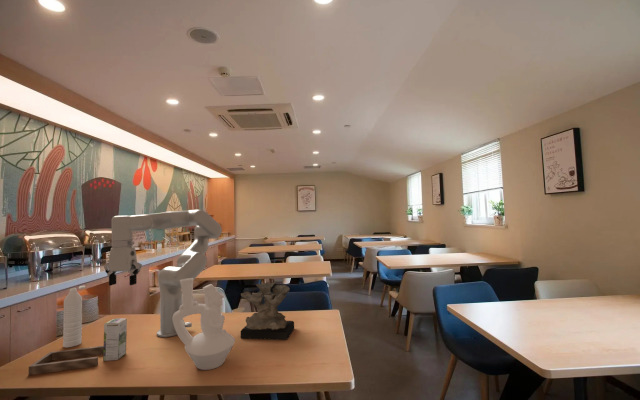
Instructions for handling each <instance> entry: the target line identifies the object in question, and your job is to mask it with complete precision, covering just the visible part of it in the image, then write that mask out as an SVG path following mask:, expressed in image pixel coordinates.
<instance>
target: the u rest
mask: <svg viewBox="0 0 640 400" xmlns="http://www.w3.org/2000/svg"><path fill="white" fill-rule="evenodd" d="M103 350H104V345H99V346H98V345H97V346H91V347H89V346H88V347H81V348H73V349H66V350H58V351H57V350H55V351H50V352H48V353H46V354H45V355H43V357H40V358H39V359H38V360H36V361H35V362H33V363H32V364H30V365H29V366H28V376H34V375H40V374H41V375H42V374H48V373H56V372H63V370H64V371H70V370H78V369H84V368H85V369H86V368H93V367H97V366H98V365H99V355H103ZM92 356H93V357H92ZM84 357H85V358H84ZM68 359H69V360H68ZM53 360H54V361H53ZM60 360H61V361H60Z"/></svg>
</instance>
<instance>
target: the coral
mask: <svg viewBox="0 0 640 400" xmlns="http://www.w3.org/2000/svg"><path fill="white" fill-rule="evenodd" d="M255 286H256V287H257V288H258V289H259V291H260V292H250V291H244V292H242V293H240V296H241V297H242V298H243V299H245V300H247V301H248V302H249V303H251V304H252V305H254V306H255V307H256V309H257V312H254V313H253V314H252V315H251V316H246V318H245V323H246V325H245V326H244V327H243V328H242V329H241V330H240V331H239V332H240V339H241V340H242V339H244V340H267V341H268V340H269V341H272V340H273V341H288V339H290V336H291V334H292V333H293V332H294V330H295V321H294V320H286V316H285V315H284V314H283V313H282V312H279V311H278V306H280V305H281V304H282V302H283V301H284V300H285V298H286V297H287V294H288V293H289V292H290V291H291V290H290V287H289V286H288V285H285V284H276V282H275V281H274V282H272V283H271V282H264V283H257V284H255ZM271 290H272V291H271ZM262 300H263V302H264V303H262Z"/></svg>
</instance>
